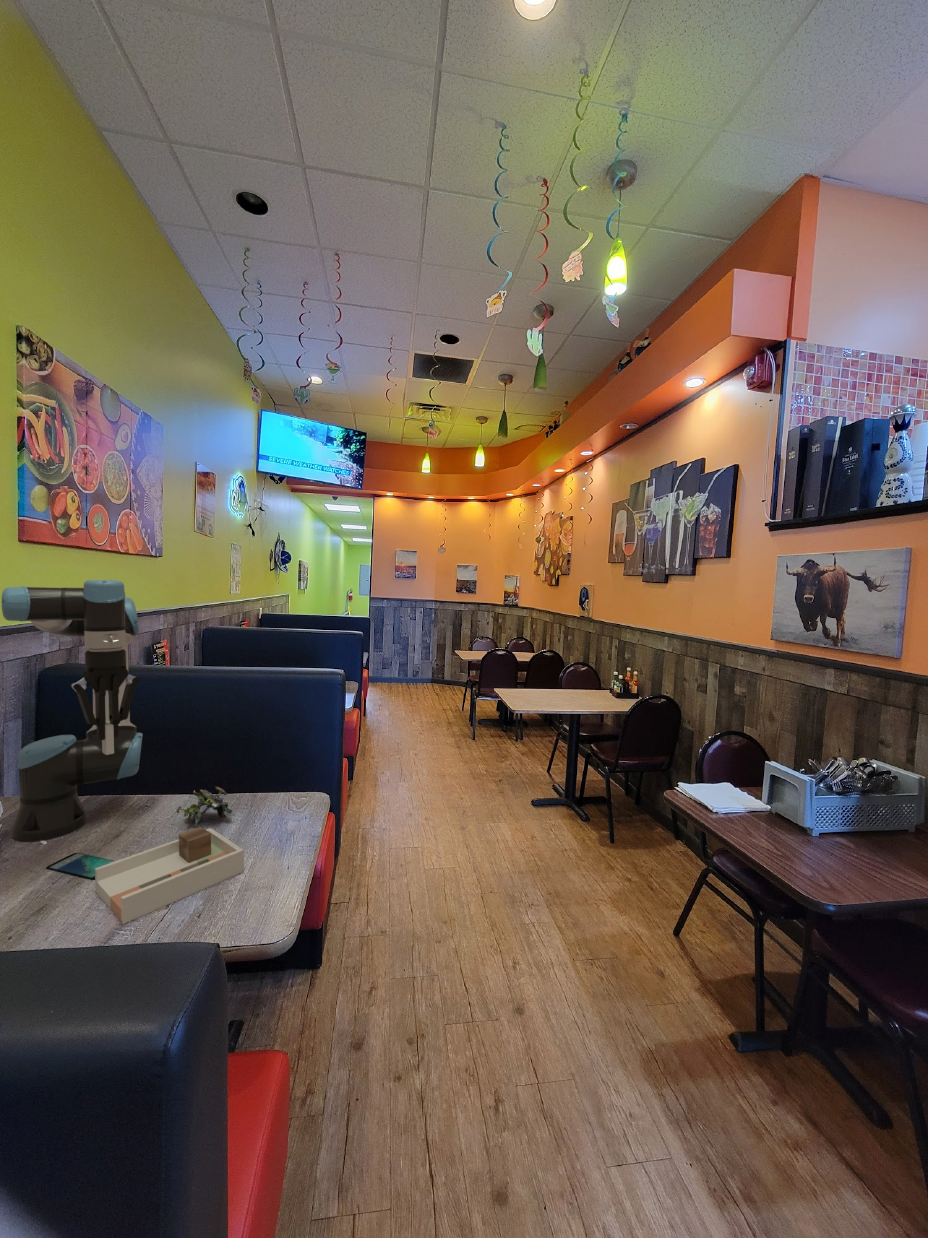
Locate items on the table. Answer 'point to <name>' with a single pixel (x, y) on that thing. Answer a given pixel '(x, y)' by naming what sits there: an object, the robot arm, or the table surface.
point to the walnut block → (194, 844)
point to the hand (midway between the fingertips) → (108, 752)
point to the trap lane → (164, 876)
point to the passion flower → (210, 800)
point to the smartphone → (79, 865)
